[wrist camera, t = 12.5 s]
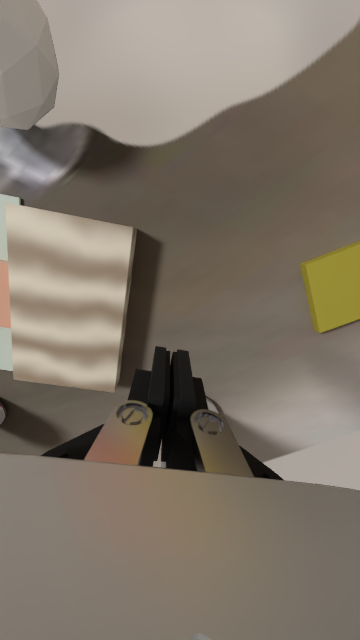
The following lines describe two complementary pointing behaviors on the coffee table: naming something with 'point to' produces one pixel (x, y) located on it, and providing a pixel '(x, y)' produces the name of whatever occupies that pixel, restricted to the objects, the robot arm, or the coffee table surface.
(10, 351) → the mat
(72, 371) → the platform
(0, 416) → the soda can
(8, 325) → the coaster
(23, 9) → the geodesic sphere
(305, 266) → the flat olive board
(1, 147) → the coffee table surface
